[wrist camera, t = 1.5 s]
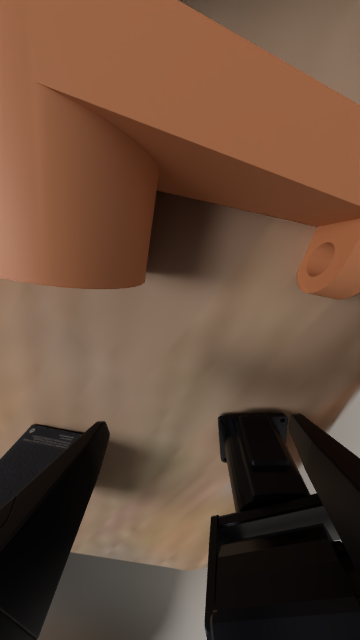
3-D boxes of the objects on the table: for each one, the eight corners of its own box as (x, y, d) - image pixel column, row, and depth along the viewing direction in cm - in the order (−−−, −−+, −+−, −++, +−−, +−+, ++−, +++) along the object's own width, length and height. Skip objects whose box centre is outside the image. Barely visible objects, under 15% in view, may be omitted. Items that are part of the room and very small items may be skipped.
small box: (28, 421, 20) (-123, 578, 10) (85, 431, 20) (-14, 598, 11) (39, 476, 24) (-65, 629, 14) (86, 485, 24) (14, 643, 14)
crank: (54, 253, 14) (-108, 254, 6) (47, 116, 11) (-271, -184, 3) (305, 307, 14) (434, 370, 7) (364, 189, 11) (711, 62, 4)
